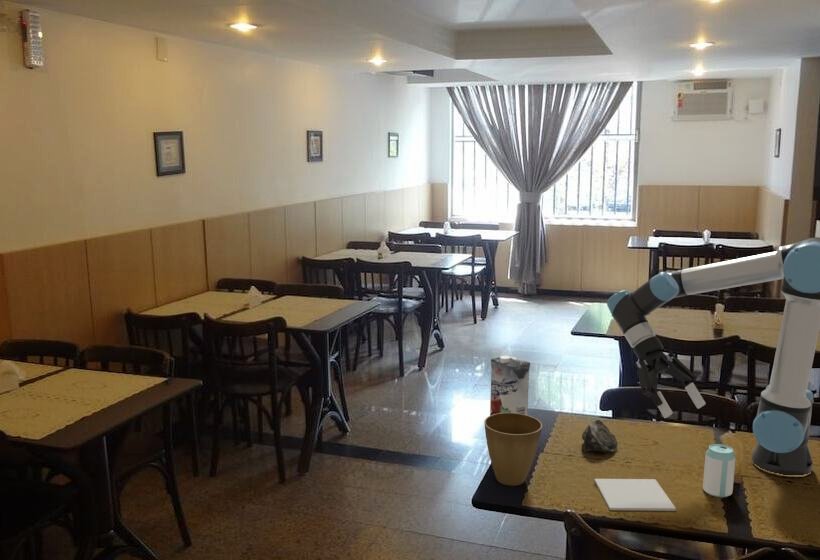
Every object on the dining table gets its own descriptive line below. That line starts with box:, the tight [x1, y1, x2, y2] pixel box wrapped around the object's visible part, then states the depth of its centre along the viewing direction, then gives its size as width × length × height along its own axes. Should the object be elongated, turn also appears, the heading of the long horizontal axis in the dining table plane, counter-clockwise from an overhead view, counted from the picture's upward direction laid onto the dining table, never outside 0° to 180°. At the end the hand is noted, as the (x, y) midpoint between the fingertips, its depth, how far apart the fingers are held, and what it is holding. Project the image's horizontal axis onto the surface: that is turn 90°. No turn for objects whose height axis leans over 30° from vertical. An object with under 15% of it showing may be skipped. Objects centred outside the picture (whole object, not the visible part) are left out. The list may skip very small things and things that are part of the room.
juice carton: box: [489, 355, 531, 416], centre depth 221 cm, size 9×10×27 cm
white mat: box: [594, 478, 677, 512], centre depth 192 cm, size 16×16×1 cm
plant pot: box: [483, 413, 543, 487], centre depth 199 cm, size 15×15×16 cm
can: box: [702, 443, 737, 498], centre depth 193 cm, size 7×7×12 cm
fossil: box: [581, 419, 618, 454], centre depth 220 cm, size 11×9×10 cm
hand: (685, 411), depth 200 cm, fingers open, 13 cm apart
